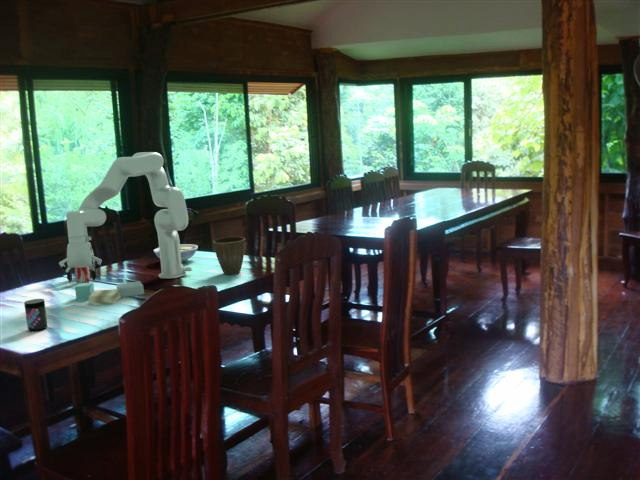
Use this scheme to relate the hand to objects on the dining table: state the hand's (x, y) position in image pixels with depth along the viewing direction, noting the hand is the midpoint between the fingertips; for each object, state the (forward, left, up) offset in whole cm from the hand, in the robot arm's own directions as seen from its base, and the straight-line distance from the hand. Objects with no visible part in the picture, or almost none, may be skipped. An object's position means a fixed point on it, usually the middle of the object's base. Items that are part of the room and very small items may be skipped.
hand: (82, 280), depth 286 cm
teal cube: (0, 0, -8) cm, 8 cm away
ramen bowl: (-30, -66, -8) cm, 73 cm away
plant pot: (-60, -28, -8) cm, 67 cm away
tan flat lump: (-10, +8, -8) cm, 15 cm away
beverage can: (+9, -32, -8) cm, 34 cm away
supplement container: (+6, +43, -8) cm, 44 cm away
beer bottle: (+10, -44, -8) cm, 46 cm away
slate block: (-18, -4, -8) cm, 20 cm away
